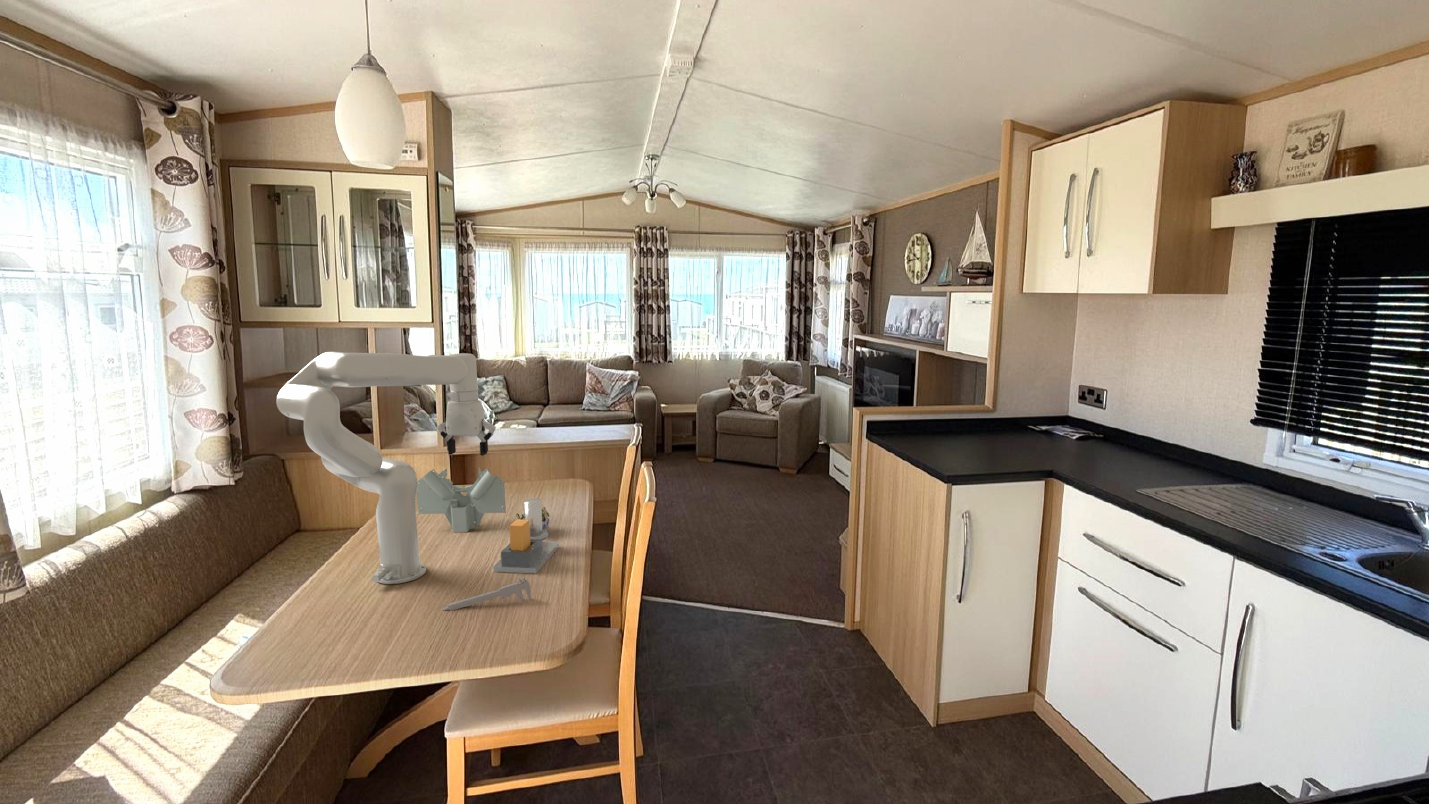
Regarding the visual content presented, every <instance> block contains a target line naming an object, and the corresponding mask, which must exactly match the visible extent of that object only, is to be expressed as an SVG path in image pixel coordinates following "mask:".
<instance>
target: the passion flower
mask: <svg viewBox="0 0 1429 804" xmlns="http://www.w3.org/2000/svg"><path fill="white" fill-rule="evenodd" d="M515 516H516V518H517V519H521V520H525V513H522V514H521V515H520V514H519V513H515ZM520 516H521V517H520ZM549 524H550V512H548V511H547V509H546V507H545V506H543V507H542V529H543V530H546V531H548V530H547V529H548V528H550V525H549Z"/></svg>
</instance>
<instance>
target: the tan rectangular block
mask: <svg viewBox="0 0 1429 804" xmlns="http://www.w3.org/2000/svg"><path fill="white" fill-rule="evenodd" d="M509 540H510V543H509V544H511V550H521V551H526V550H527V549H528V548H529V547H530V525H529V520H524V519H523V520H521V518H520V519H518V518H517V519H516V520H515V521H513V522H512V523H511V524H510V525H509Z"/></svg>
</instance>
